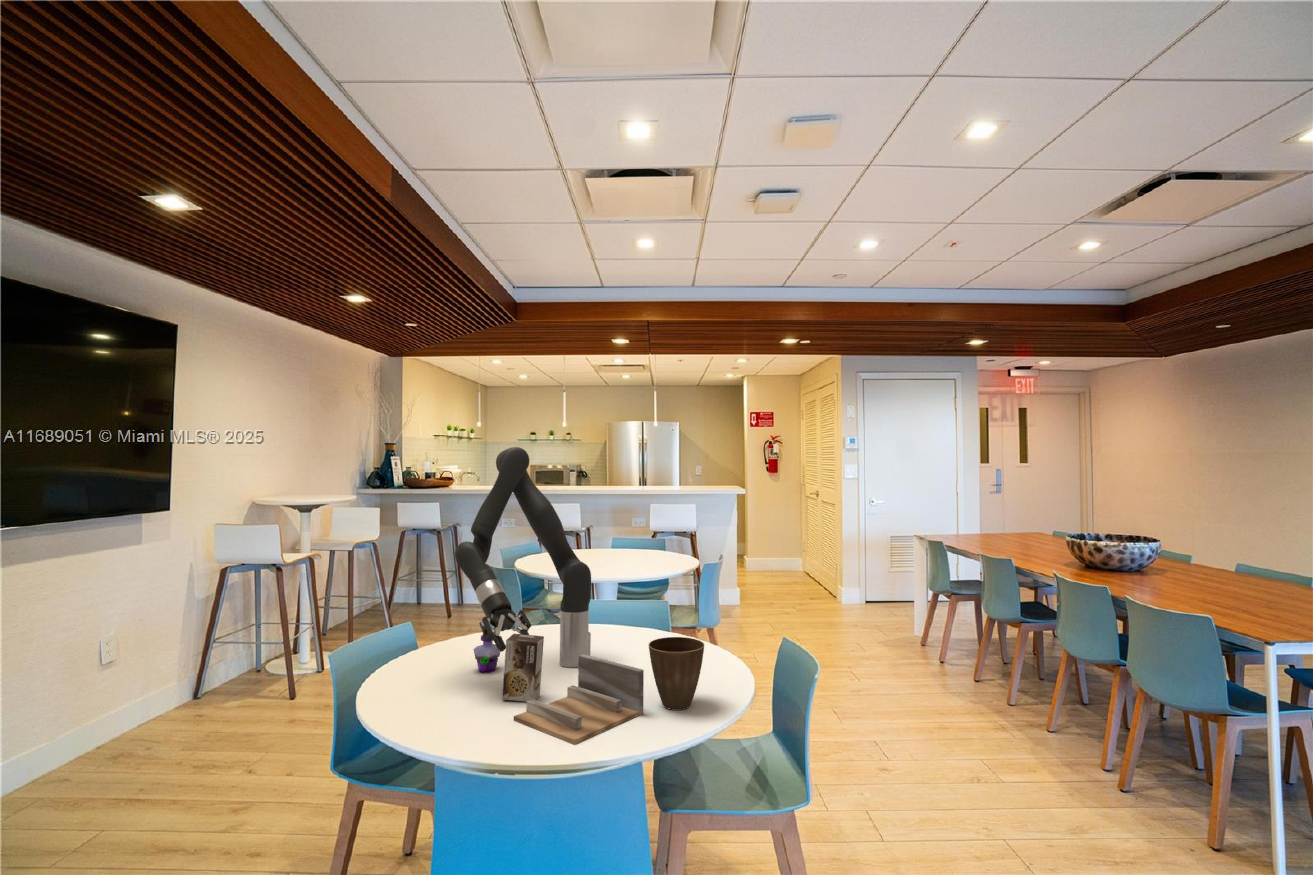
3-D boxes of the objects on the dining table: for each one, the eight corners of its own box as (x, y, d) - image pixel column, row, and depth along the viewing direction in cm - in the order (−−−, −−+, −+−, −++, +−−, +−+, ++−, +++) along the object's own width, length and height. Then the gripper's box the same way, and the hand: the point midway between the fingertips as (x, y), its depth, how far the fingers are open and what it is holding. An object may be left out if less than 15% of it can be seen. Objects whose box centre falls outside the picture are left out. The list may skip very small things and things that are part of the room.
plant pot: (687, 720, 153) (687, 655, 154) (637, 708, 161) (637, 646, 162) (714, 702, 166) (713, 641, 167) (666, 692, 173) (666, 634, 174)
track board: (583, 694, 171) (583, 654, 172) (643, 713, 157) (643, 669, 158) (513, 720, 153) (514, 675, 153) (574, 744, 139) (575, 694, 139)
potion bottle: (474, 675, 187) (475, 635, 188) (471, 667, 195) (472, 629, 196) (503, 672, 190) (504, 633, 191) (499, 664, 198) (500, 627, 199)
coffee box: (540, 694, 171) (545, 635, 172) (533, 703, 164) (538, 642, 165) (508, 691, 172) (513, 632, 173) (500, 699, 165) (505, 638, 166)
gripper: (477, 594, 171) (501, 643, 163) (518, 588, 182) (543, 633, 174) (465, 611, 174) (488, 660, 166) (507, 603, 185) (530, 649, 177)
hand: (516, 646), depth 170 cm, fingers open, 8 cm apart
